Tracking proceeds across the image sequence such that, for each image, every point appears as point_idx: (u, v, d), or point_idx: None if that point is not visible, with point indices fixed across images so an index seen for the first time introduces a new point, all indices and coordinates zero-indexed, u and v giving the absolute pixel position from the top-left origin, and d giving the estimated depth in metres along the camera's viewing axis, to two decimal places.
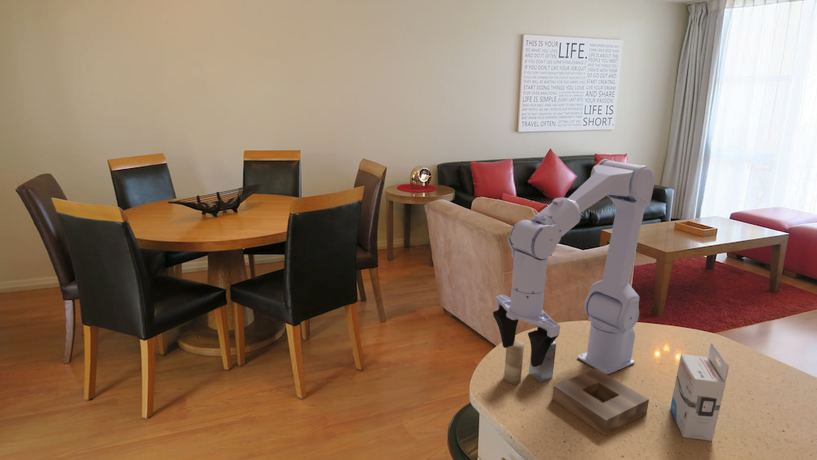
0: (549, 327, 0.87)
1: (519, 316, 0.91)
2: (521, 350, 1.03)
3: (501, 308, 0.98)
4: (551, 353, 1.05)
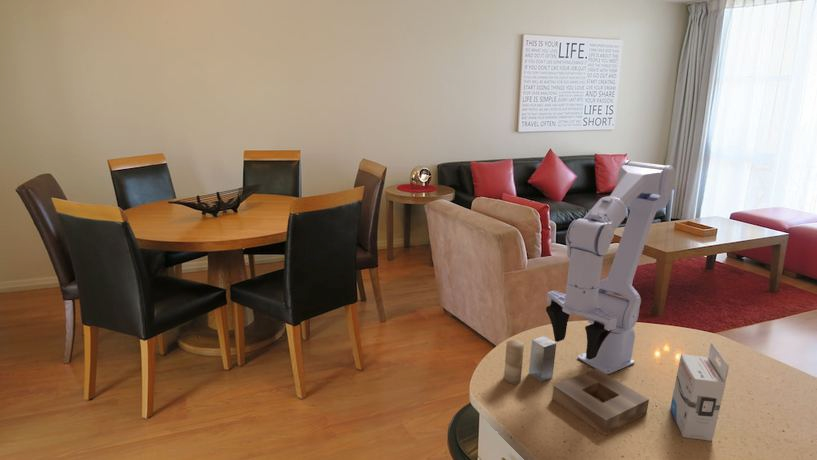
0: (607, 321, 0.91)
1: (575, 311, 0.95)
2: (521, 350, 1.03)
3: (553, 303, 1.02)
4: (551, 353, 1.05)
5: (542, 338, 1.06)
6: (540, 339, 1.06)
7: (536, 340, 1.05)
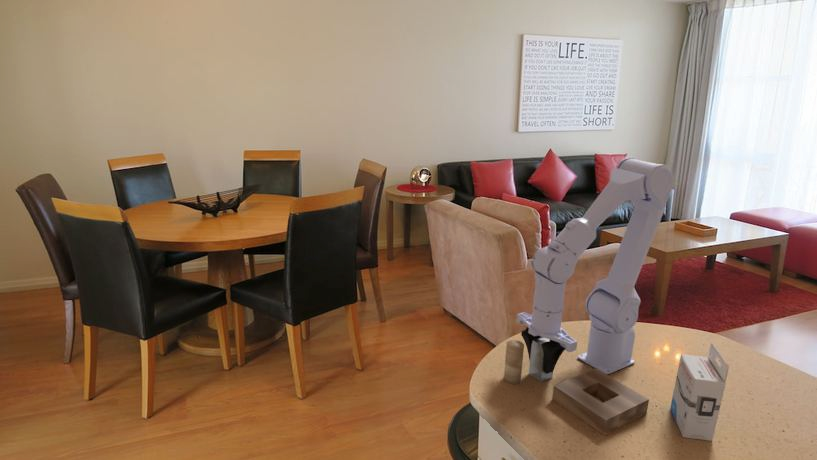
0: (567, 343, 0.98)
1: (540, 333, 1.02)
2: (521, 350, 1.03)
3: None
4: None
5: (542, 338, 1.06)
6: (540, 339, 1.06)
7: (536, 340, 1.05)
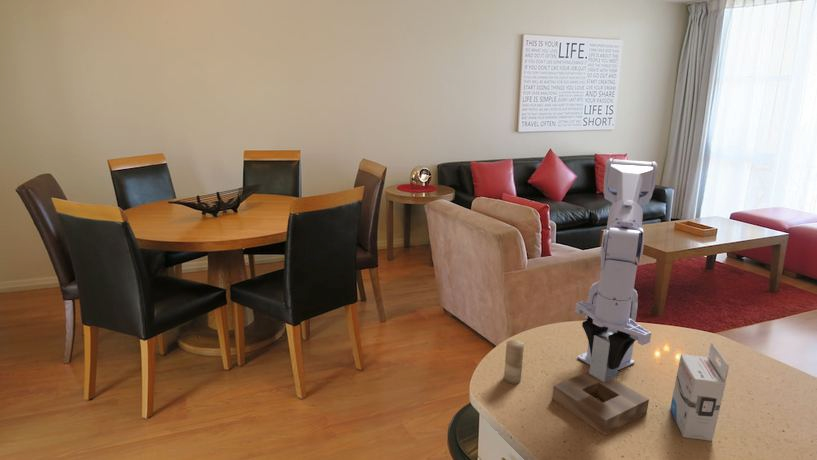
0: (641, 334, 0.87)
1: (607, 323, 0.90)
2: (521, 350, 1.03)
3: None
4: None
5: (605, 333, 0.95)
6: (603, 334, 0.94)
7: (599, 335, 0.94)
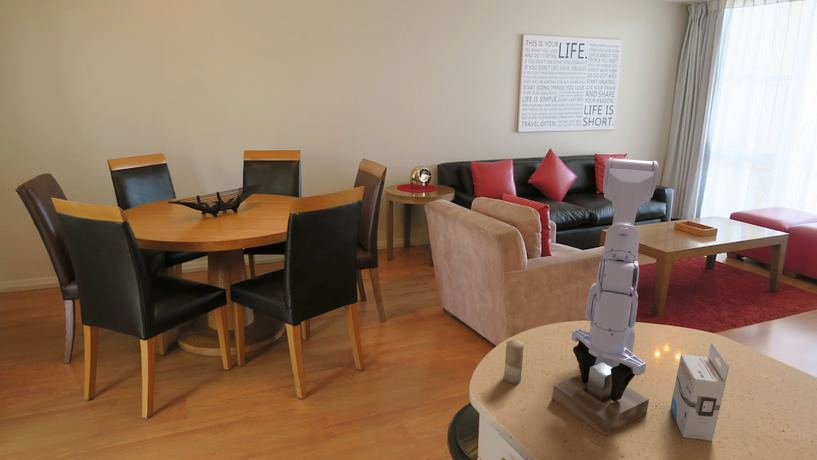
0: (636, 365, 0.88)
1: (603, 353, 0.92)
2: (521, 350, 1.03)
3: (579, 342, 0.99)
4: None
5: (601, 365, 0.97)
6: (599, 366, 0.96)
7: (595, 368, 0.96)
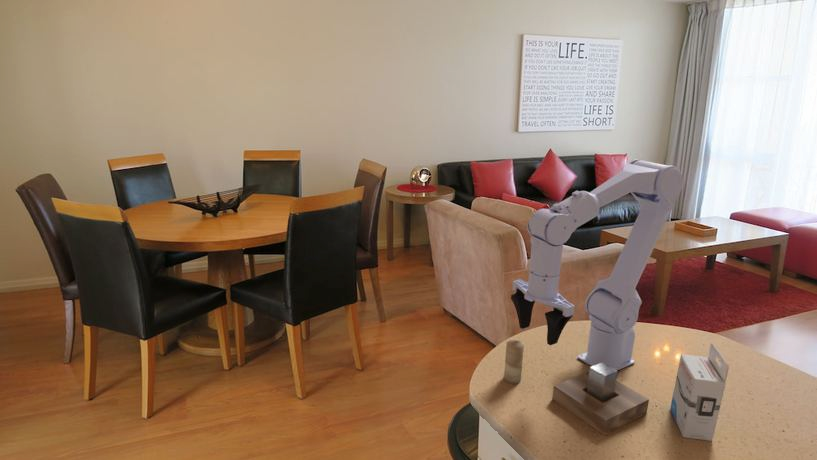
0: (565, 307, 0.95)
1: (536, 298, 0.98)
2: (521, 350, 1.03)
3: (518, 292, 1.05)
4: (611, 382, 0.95)
5: (601, 365, 0.97)
6: (599, 366, 0.96)
7: (595, 368, 0.96)
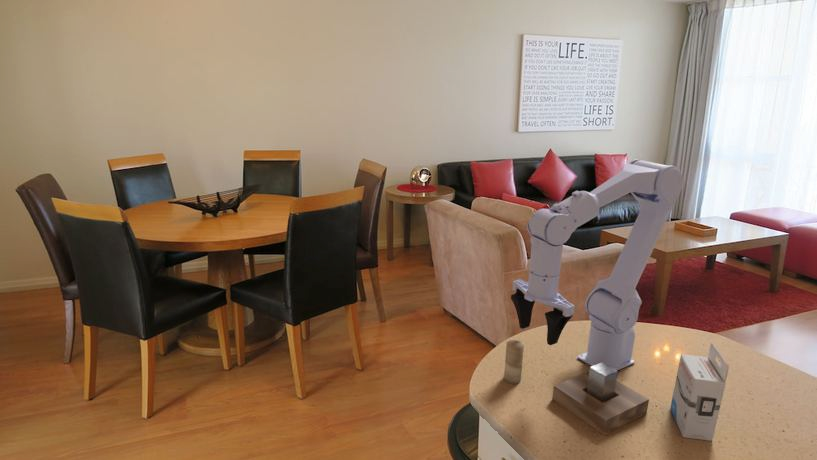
0: (565, 307, 0.95)
1: (536, 298, 0.99)
2: (521, 350, 1.03)
3: (518, 292, 1.05)
4: (611, 382, 0.95)
5: (601, 365, 0.97)
6: (599, 366, 0.96)
7: (595, 367, 0.96)
